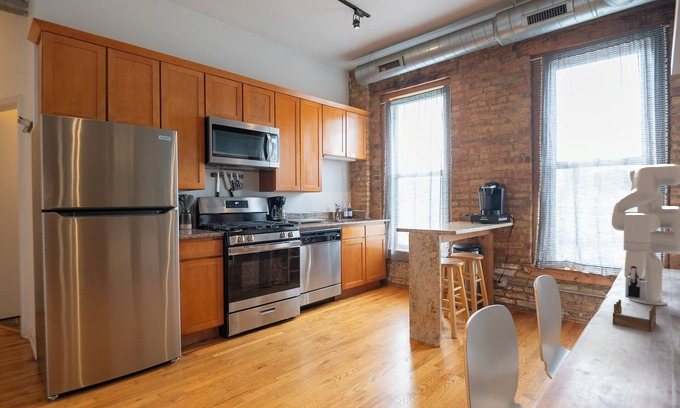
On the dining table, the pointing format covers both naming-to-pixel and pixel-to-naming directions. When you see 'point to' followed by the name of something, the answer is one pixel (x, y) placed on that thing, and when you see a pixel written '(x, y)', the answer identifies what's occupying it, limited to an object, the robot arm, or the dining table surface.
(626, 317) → the rack
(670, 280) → the dining table surface
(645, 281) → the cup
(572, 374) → the dining table surface
